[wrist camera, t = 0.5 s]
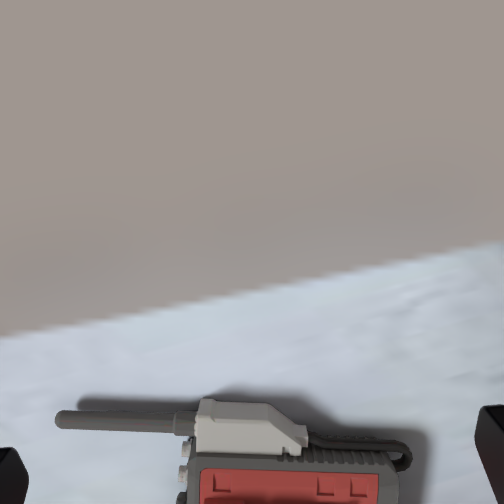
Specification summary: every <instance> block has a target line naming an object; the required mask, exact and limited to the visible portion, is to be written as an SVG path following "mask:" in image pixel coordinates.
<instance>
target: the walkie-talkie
mask: <svg viewBox="0 0 504 504" xmlns="http://www.w3.org/2000/svg"><path fill="white" fill-rule="evenodd" d="M55 424H56V425H57V427H59V428H61V429H83V430H109V431H135V432H161V433H174V434H175V436H194V437H193V440H192V439H191V438H190V441H183V444H182V457H189V461H188V463H187V466H180V467H179V474H178V482H185V483H186V485H187V493H186V492H180V493H179V494H178V496H177V501H176V504H397V502H398V494H399V476H398V474H397V472H400V471H404V470H406V469H407V468H409V467H410V464H411V462H412V460H413V458H412V453H411V452H410V450H409V448H408V446H407V445H406V444H404V443H401V442H399V441H396V440H377V439H376V438H375V437H373V438H367V437H364V438H358V436H355V437H354V438H349V436H346V437H340V436H336V437H331V436H330V435H327V437H323V436H321V435H318V434H316V433H314V432H309V431H307V428H306V425H297V424H295V423H294V422H293V421H291V420H290V419H289V418H287V417H286V416H285V415H283V414H282V413H281V412H279V411H278V410H277V409H275V408H274V407H273V406H271V405H270V404H267V403H244V402H218V401H215V400H214V399H203V398H201V400H200V404H199V409H198V411H177V412H176V413H154V412H130V411H106V412H100V411H68V410H62V411H60V412H58V413H57V415H56V417H55ZM387 451H394V452H400V453H403V455H402V457H401V458H400V459H397V460H391V459H390V457H389V455H388V453H387Z"/></svg>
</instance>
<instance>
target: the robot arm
mask: <svg viewBox="0 0 504 504" xmlns="http://www.w3.org/2000/svg"><path fill="white" fill-rule="evenodd" d="M474 437H475V445H476V448H477V451H478V453H479V456H480V459H481V461H482V464H483V466H484V469H485V471H486V474H487V477H488V479H489V482H490V484H491V487H492V490H493V492H494V495H495V497H496V500H497V502H498V504H504V405H501V404H499V405H487V406H483V407H482V408H481V409H480V411H479V415H478V420H477V425H476V430H475V436H474ZM28 485H29V476H28V472H27V470H26V468H25V466H24V464H23V462H22V460H21V458H20V456H19V454H18V452H17V450H16V449H14V448H13V447H4V448H0V504H24V501H25V497H26V493H27V489H28Z"/></svg>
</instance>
